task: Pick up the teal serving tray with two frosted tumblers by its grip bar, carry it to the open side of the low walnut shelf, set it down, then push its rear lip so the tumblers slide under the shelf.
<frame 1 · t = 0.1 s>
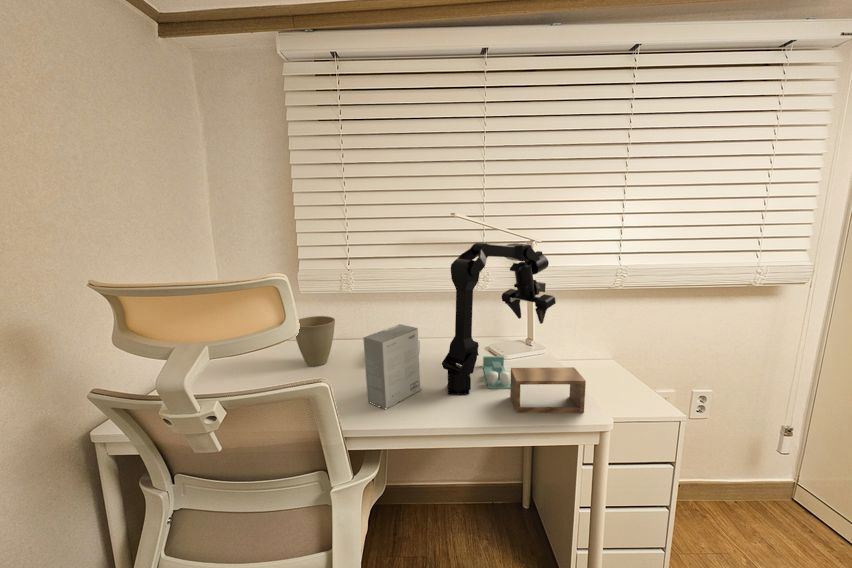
hand: (530, 320, 136), 15 cm above the table, tool pointing down, fingers open, 9 cm apart
organizer: (396, 357, 147), on the table
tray: (496, 377, 128), on the table
plant pot: (317, 363, 144), on the table
shelf: (545, 404, 109), on the table
hard drive box: (394, 397, 116), on the table
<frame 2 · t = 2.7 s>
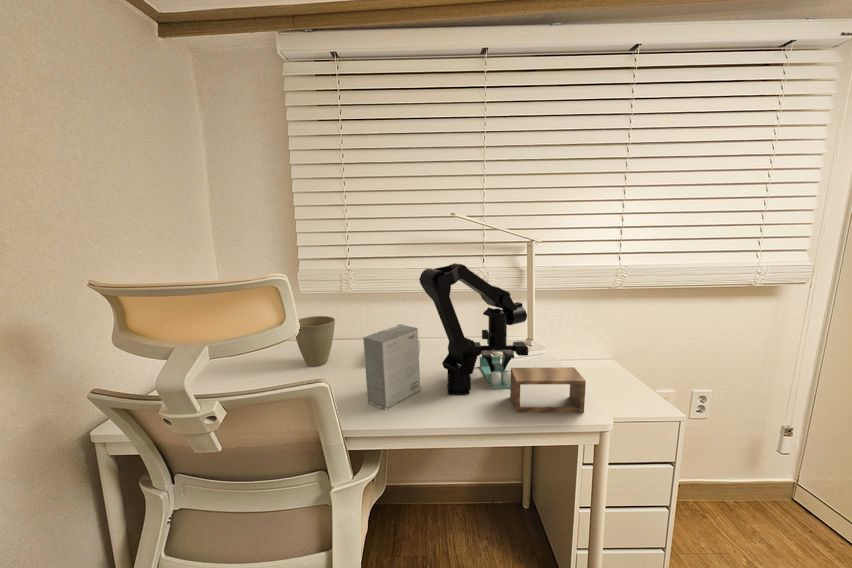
hand: (497, 373, 127), 1 cm above the table, tool pointing down, fingers closed on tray, 3 cm apart
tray: (496, 377, 128), on the table, touching gripper
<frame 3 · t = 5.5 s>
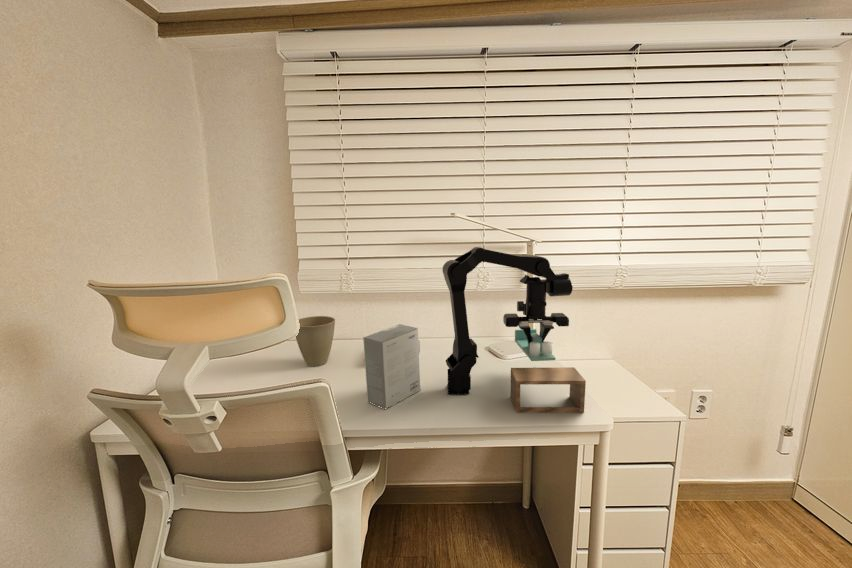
hand: (534, 346, 120), 12 cm above the table, tool pointing down, fingers closed on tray, 3 cm apart
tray: (533, 350, 122), point 11 cm above the table, touching gripper
when the fingers open (2 cm above the table, at t = 7.4 s): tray drops 2 cm, on the table.
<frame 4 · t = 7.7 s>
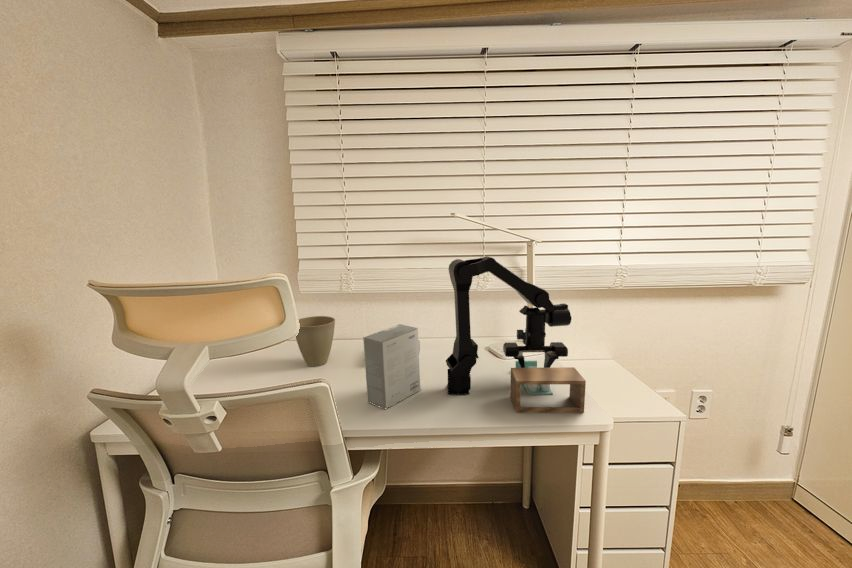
hand: (534, 375, 122), 2 cm above the table, tool pointing down, fingers open, 6 cm apart
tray: (532, 383, 123), on the table
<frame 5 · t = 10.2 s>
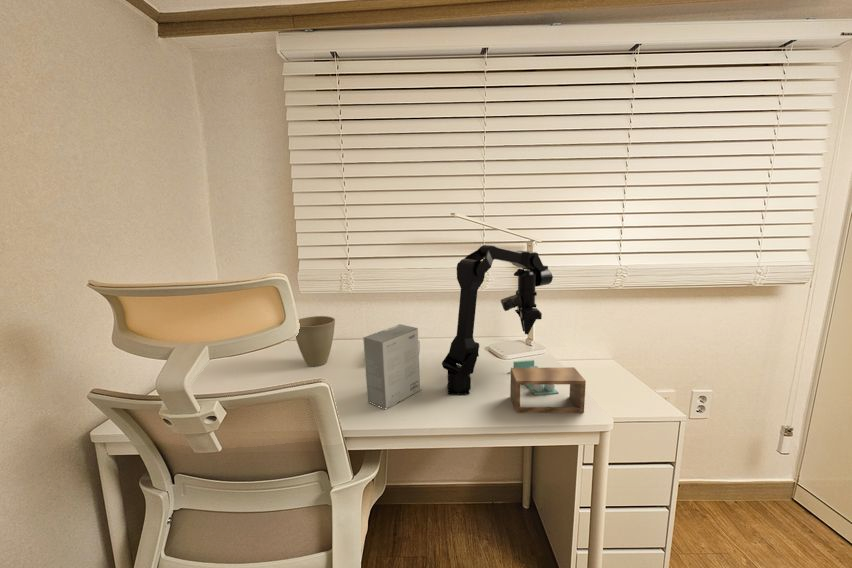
hand: (525, 332, 134), 12 cm above the table, tool pointing down, fingers open, 3 cm apart
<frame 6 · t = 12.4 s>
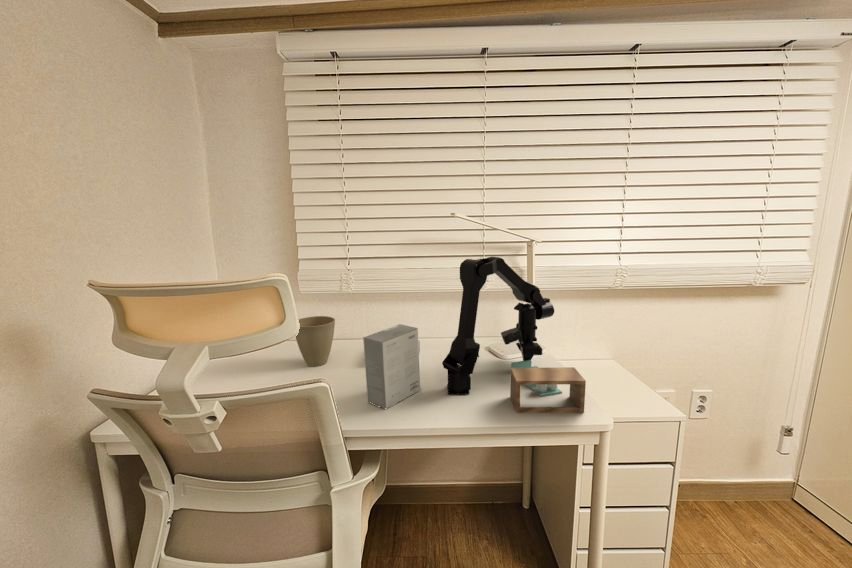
hand: (525, 365, 134), 1 cm above the table, tool pointing down, fingers closed
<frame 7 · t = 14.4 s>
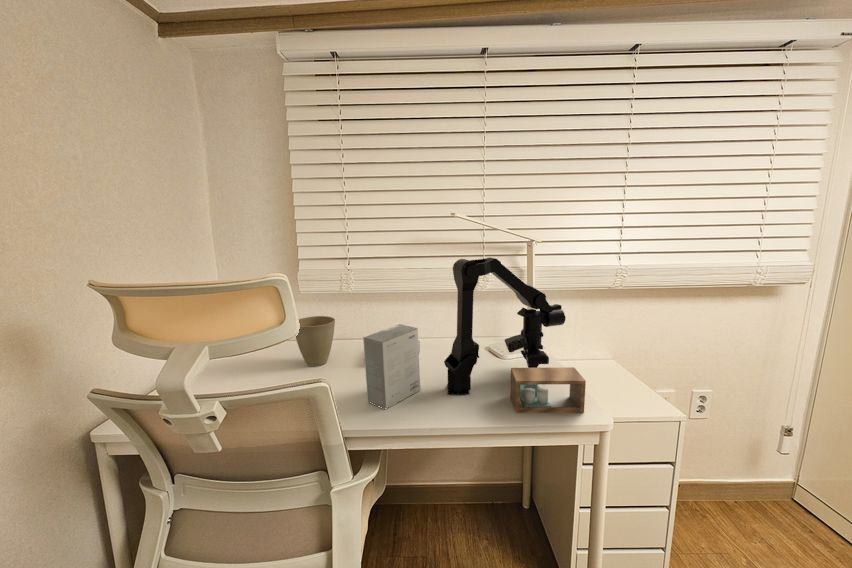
hand: (531, 374, 126), 1 cm above the table, tool pointing down, fingers closed
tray: (529, 394, 116), on the table
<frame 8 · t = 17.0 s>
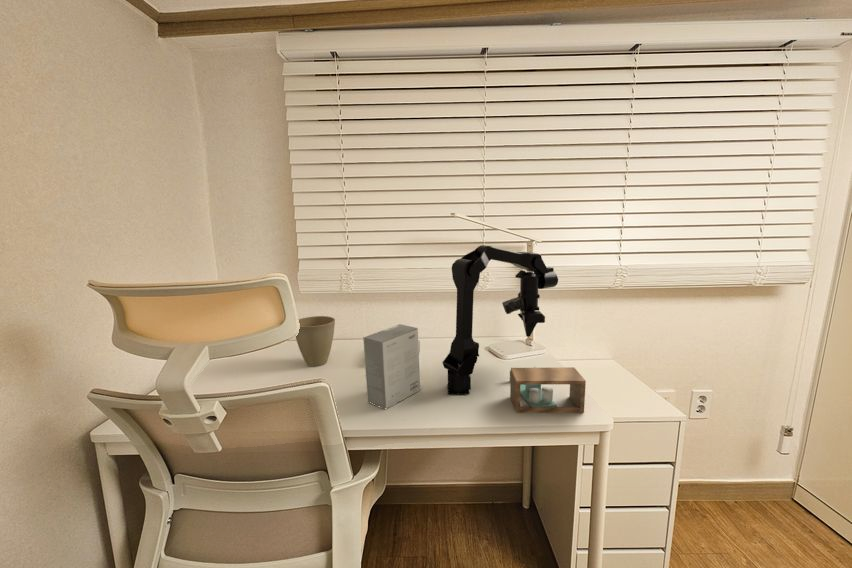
hand: (528, 336, 130), 12 cm above the table, tool pointing down, fingers closed
at the end: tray inside the target area (2.5 cm from its centre), on the table; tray tilted 0°; the gripper is holding nothing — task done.
